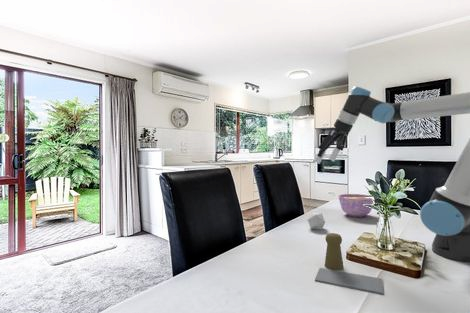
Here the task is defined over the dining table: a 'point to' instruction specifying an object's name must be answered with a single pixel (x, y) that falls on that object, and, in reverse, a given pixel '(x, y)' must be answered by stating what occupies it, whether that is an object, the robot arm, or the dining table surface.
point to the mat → (350, 280)
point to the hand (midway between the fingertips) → (324, 161)
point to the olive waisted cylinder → (333, 252)
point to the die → (316, 221)
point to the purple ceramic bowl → (355, 204)
